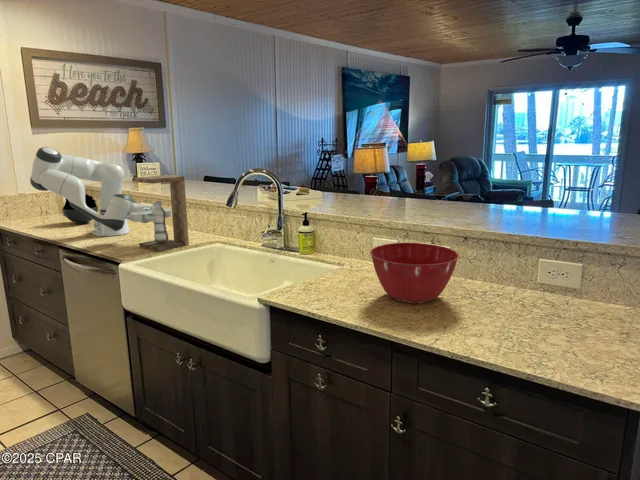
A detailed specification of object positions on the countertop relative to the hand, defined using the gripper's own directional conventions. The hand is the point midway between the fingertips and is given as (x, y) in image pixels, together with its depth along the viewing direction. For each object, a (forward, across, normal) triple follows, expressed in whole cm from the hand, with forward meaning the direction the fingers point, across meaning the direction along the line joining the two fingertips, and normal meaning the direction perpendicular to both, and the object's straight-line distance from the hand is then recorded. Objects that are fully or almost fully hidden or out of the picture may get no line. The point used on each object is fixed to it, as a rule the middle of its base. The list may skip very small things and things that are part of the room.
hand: (160, 216), depth 234 cm
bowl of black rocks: (-99, +10, +16) cm, 101 cm away
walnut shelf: (-1, 0, +15) cm, 15 cm away
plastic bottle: (0, 0, +13) cm, 13 cm away
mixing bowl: (+132, +6, +15) cm, 133 cm away
